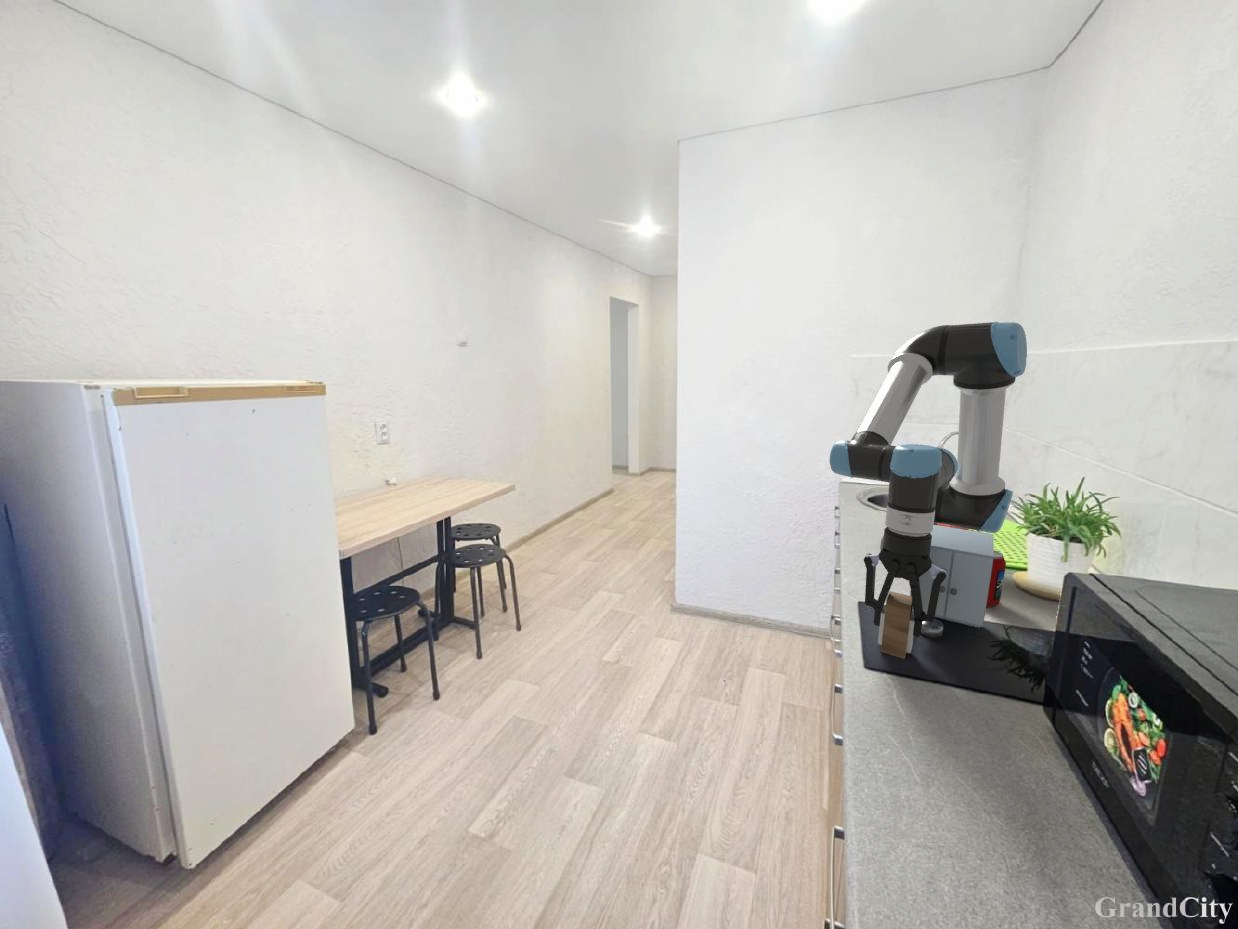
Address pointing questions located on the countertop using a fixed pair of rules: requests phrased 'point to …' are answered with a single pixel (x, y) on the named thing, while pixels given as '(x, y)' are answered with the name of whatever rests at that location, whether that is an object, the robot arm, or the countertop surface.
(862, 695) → the countertop surface
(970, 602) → the cabinet
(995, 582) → the beverage can
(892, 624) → the upright wooden brick
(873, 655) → the countertop surface
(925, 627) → the token
